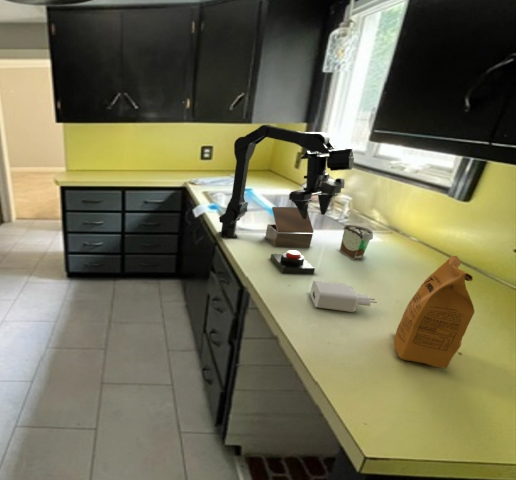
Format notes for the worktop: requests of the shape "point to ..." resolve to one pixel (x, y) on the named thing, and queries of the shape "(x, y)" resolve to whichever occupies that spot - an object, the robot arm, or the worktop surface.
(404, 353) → the coffee package
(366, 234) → the food container
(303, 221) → the lid
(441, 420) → the worktop surface
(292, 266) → the button box
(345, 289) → the charger
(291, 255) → the button
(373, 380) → the worktop surface
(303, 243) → the chest
